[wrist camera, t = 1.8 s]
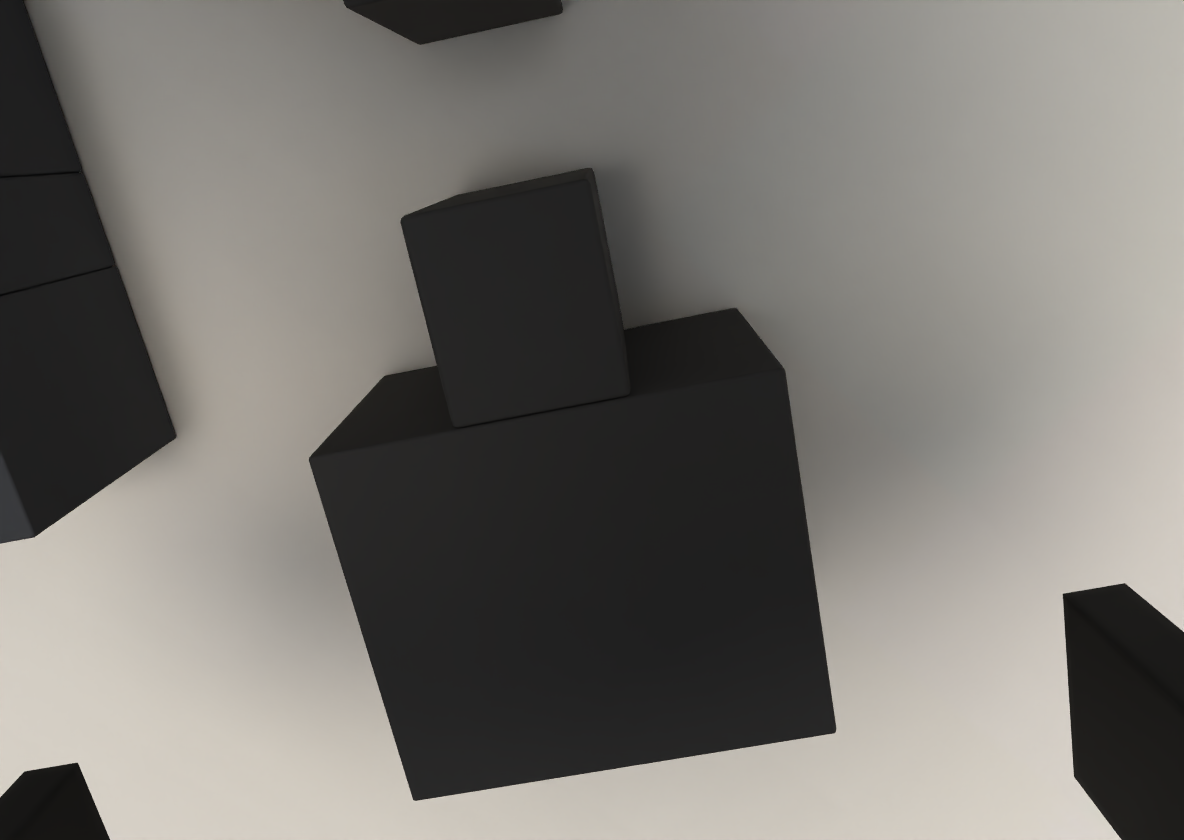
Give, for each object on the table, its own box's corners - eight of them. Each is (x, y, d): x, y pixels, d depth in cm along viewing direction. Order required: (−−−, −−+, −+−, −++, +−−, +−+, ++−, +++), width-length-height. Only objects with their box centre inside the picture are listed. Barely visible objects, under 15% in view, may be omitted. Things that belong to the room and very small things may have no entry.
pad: (711, 142, 19) (753, 143, 14) (781, 591, 22) (837, 734, 17) (339, 219, 20) (242, 248, 14) (457, 647, 23) (412, 802, 17)
